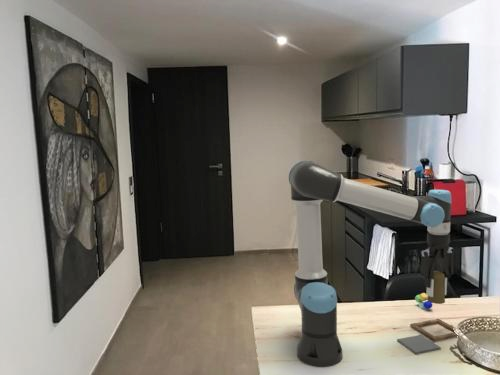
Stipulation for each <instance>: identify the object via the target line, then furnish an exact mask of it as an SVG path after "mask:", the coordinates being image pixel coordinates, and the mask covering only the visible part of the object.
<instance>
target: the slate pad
mask: <svg viewBox="0 0 500 375" xmlns="http://www.w3.org/2000/svg"><path fill="white" fill-rule="evenodd" d="M396 339H397V342H398V343H399V344H400V345H401V346H403V347H404V348H406V349H407V350H409V351H410V352H411V353H413V354H414V355H420V354H425V353H430V352H434V351H440V350H442V349H441V346H439V345H438V344H437V343H435V342H433V341H431V340H430V339H428V338H427V337H425V336H424V335H422V334H417V335H412V336H407V337H403V338H402V337H401V338H396Z"/></svg>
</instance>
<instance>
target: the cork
mask: <svg viewBox="0 0 500 375" xmlns="http://www.w3.org/2000/svg"><path fill="white" fill-rule="evenodd" d="M432 279H434V287H433V297H430V296H428V298H427V300H426V301H429V302H431V303H432V304H437V305H442V304H444V303H446V298H445V297H446V295H444V287H443V281H444V279H445V275H444V273H442V271H440V270H434V272H433V276H432Z"/></svg>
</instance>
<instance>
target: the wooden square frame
mask: <svg viewBox="0 0 500 375" xmlns="http://www.w3.org/2000/svg"><path fill="white" fill-rule="evenodd" d="M434 325H439V326H441V327H443V328H444V329H446V330H448V331H449V332H450V333H445V334H439V335H436V336H435V335H433V334H432V333H430V332H428V331H427V330H425V329H423V327H427V326H428V327H430V326H434ZM409 328H411V329H413V330H414V331H416V332H417V333H419V335H422V336H424V337H425V338H427V339H429V340H430V341H432V342H433V343H435V342H436V343H437V342H442V341H446V340H450V339H451V340H452V339H455V338H458V337H457V336H458V335H457V334H456V333H455V332H454V330H453V328H455V327H454V326H453V325H451V324H449V323H447V322H445V321H443V320H442V319H439V318H436V319H435V318H434V319H430V320H429V319H428V320H425V321H419V322H414V323H410V324H409Z"/></svg>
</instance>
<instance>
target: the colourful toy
mask: <svg viewBox="0 0 500 375" xmlns="http://www.w3.org/2000/svg"><path fill="white" fill-rule="evenodd" d="M427 298H428V295H426V293H425V292H422V293H420V294H417V295H416V296H415V297H414V300H415V302H416V303H418V307H419V308H420V309H422V310H426V309H427V310H430V309H432V307H433V303H431V302H429V301H428V300H427Z"/></svg>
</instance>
